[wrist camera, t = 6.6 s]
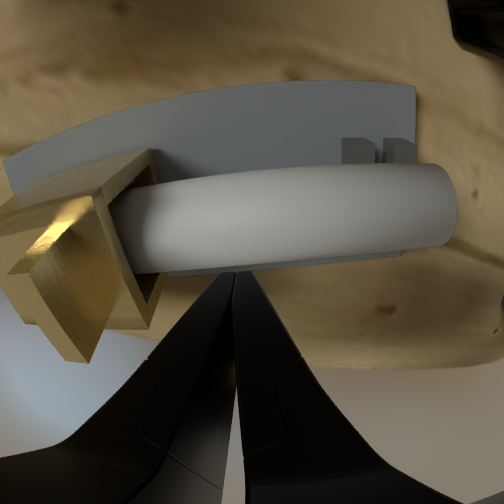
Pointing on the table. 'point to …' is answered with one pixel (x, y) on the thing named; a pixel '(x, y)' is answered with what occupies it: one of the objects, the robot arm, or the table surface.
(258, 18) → the table surface
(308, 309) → the table surface
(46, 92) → the table surface
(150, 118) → the pipe run
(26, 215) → the coupling
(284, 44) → the table surface
